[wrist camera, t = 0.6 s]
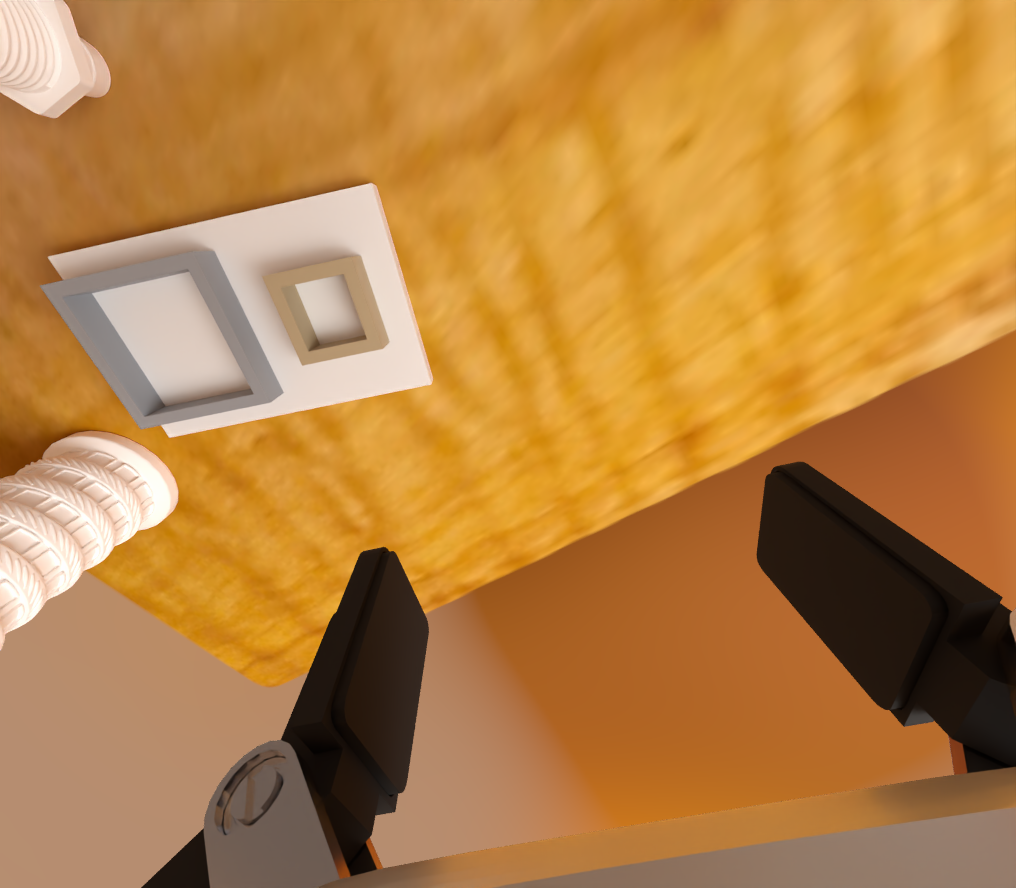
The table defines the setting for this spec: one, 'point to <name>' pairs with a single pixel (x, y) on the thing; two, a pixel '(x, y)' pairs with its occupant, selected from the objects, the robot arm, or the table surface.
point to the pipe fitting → (47, 58)
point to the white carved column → (73, 516)
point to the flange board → (247, 313)
